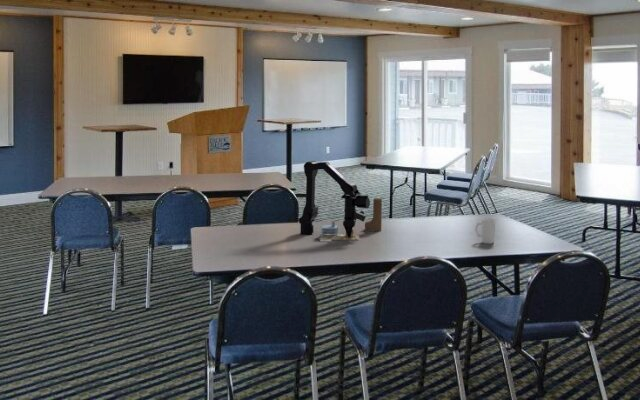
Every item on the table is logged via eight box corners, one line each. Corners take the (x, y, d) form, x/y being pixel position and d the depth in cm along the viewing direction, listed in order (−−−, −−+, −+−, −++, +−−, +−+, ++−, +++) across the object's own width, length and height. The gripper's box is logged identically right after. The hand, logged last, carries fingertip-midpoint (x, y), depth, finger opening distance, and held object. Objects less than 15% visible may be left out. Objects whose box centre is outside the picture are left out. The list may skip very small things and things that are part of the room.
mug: (493, 241, 378) (494, 218, 376) (495, 243, 372) (496, 220, 370) (473, 240, 379) (474, 218, 377) (475, 243, 372) (476, 220, 371)
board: (318, 239, 381) (318, 237, 381) (320, 235, 391) (320, 234, 391) (358, 240, 379) (358, 238, 379) (359, 236, 389) (359, 234, 389)
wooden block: (364, 230, 404) (365, 198, 402) (365, 229, 409) (365, 197, 406) (380, 231, 403) (381, 199, 400) (381, 229, 408) (381, 198, 405)
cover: (321, 237, 381) (321, 222, 380) (322, 233, 390) (322, 219, 389) (336, 237, 381) (336, 222, 380) (337, 234, 389) (337, 219, 388)
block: (345, 238, 383) (345, 229, 382) (346, 237, 387) (346, 228, 386) (353, 239, 382) (353, 229, 382) (353, 237, 386) (353, 228, 385)
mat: (320, 241, 375) (320, 240, 375) (320, 239, 380) (320, 238, 380) (330, 241, 374) (330, 240, 374) (331, 239, 380) (331, 238, 380)
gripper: (364, 210, 372) (364, 240, 374) (365, 204, 390) (365, 233, 393) (343, 209, 373) (342, 239, 375) (345, 204, 391) (344, 232, 394)
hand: (349, 236), depth 384 cm, fingers open, 6 cm apart
